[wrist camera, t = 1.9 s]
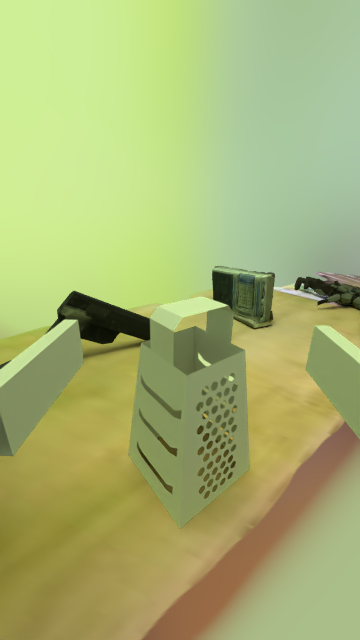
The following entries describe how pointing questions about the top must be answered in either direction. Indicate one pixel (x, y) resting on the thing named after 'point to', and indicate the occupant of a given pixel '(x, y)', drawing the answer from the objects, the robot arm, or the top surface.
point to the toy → (332, 291)
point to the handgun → (101, 319)
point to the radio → (245, 294)
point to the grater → (189, 405)
